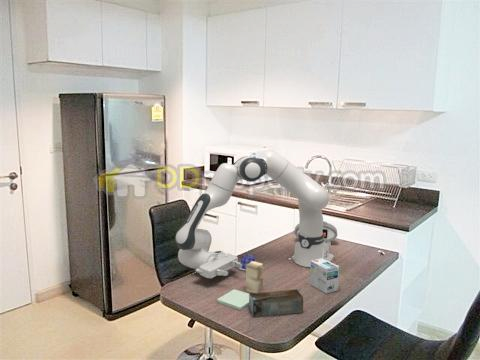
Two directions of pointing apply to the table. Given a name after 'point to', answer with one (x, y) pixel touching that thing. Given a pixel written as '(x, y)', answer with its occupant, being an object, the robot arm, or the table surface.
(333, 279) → the light bulb box
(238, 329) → the table surface
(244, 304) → the sage tile
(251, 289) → the beech block
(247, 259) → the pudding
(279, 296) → the beverage carton
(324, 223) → the alarm clock
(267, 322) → the table surface
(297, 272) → the table surface
